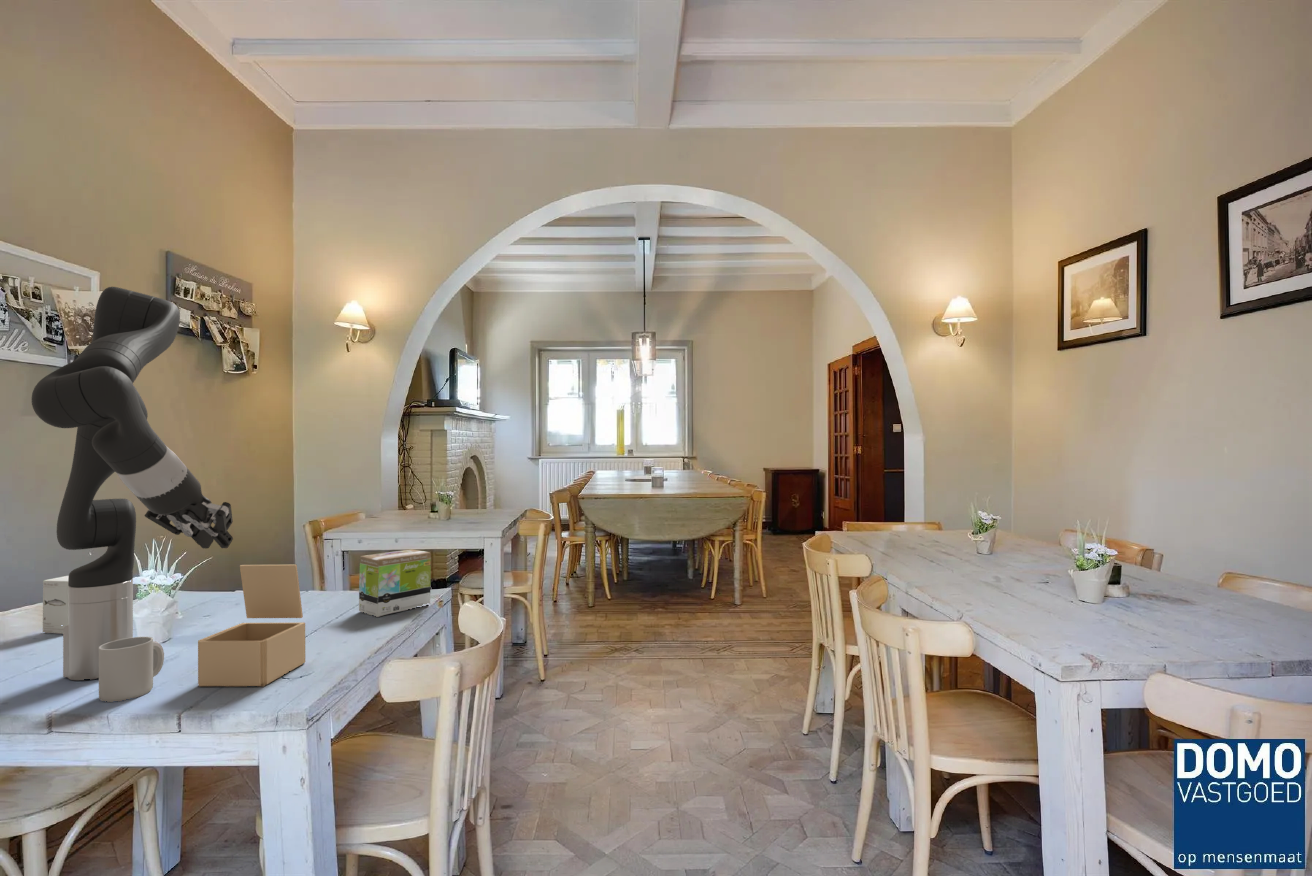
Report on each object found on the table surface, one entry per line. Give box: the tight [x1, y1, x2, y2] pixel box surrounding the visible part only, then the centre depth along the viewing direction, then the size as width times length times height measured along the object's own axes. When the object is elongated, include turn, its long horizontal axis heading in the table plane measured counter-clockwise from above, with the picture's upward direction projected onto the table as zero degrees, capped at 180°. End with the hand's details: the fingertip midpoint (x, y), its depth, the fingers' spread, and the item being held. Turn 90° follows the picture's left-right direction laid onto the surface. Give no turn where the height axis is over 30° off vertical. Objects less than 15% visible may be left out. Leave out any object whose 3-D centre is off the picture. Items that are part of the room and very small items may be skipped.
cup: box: [98, 636, 165, 703], centre depth 108 cm, size 7×10×9 cm
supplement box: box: [42, 575, 69, 634], centre depth 147 cm, size 7×7×13 cm
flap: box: [239, 563, 304, 619], centre depth 120 cm, size 11×1×11 cm, turn 88°
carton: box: [197, 621, 306, 688], centre depth 115 cm, size 13×12×8 cm
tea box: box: [358, 548, 432, 618], centre depth 162 cm, size 15×10×15 cm
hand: (218, 544), depth 107 cm, fingers open, 3 cm apart
